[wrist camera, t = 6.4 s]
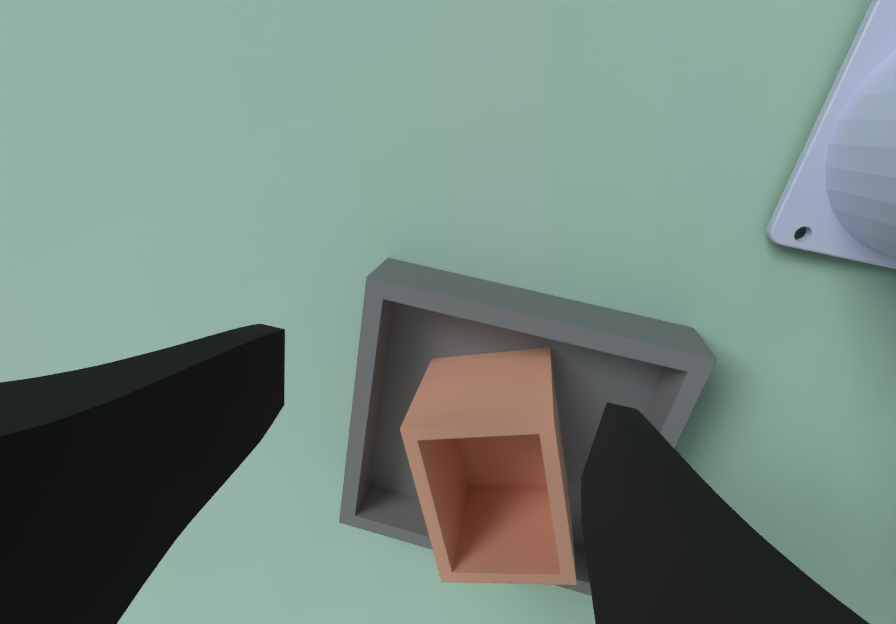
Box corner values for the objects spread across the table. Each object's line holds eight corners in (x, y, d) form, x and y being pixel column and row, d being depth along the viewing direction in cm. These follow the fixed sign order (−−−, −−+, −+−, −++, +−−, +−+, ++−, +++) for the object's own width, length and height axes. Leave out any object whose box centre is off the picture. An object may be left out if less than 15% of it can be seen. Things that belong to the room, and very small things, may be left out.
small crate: (550, 347, 19) (553, 419, 14) (568, 485, 21) (576, 585, 17) (431, 358, 20) (399, 428, 15) (461, 488, 22) (441, 581, 18)
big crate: (693, 327, 18) (716, 359, 16) (596, 549, 23) (603, 598, 21) (387, 258, 19) (366, 276, 17) (358, 483, 24) (339, 522, 22)
